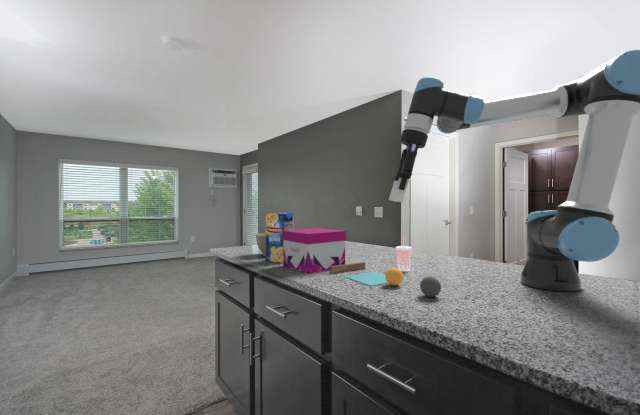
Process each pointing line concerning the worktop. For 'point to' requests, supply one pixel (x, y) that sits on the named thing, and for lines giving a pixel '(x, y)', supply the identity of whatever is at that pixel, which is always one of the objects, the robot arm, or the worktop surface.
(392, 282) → the orange ball
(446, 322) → the worktop surface
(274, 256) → the beverage box
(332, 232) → the decorative box
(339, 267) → the wall
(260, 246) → the planter bowl
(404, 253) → the beverage cup
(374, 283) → the teal mark
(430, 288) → the gray ball
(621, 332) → the worktop surface
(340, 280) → the worktop surface
